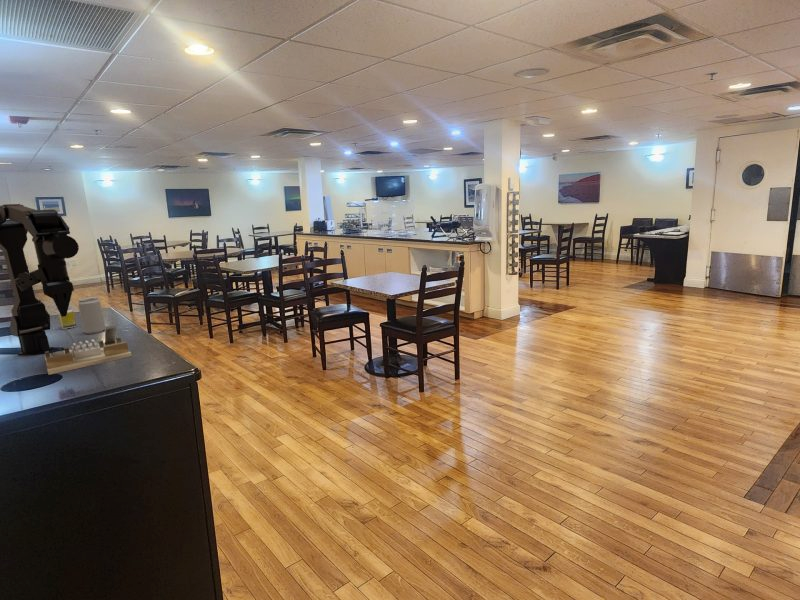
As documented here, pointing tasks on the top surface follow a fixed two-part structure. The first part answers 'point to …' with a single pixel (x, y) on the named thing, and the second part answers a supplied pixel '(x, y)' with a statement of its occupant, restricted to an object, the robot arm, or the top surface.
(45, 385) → the top surface
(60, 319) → the supplement bottle
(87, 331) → the beverage can
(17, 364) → the top surface
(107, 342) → the strap
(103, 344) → the heatsink board
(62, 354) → the strap
